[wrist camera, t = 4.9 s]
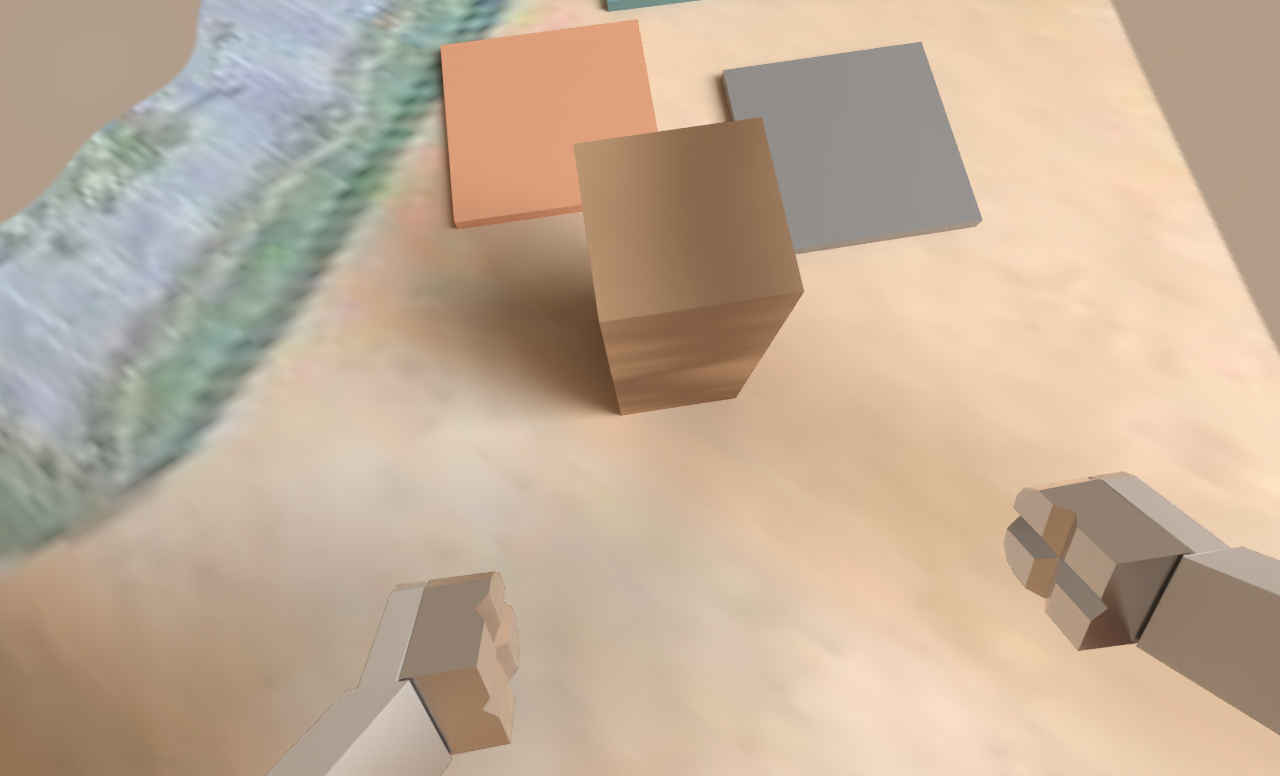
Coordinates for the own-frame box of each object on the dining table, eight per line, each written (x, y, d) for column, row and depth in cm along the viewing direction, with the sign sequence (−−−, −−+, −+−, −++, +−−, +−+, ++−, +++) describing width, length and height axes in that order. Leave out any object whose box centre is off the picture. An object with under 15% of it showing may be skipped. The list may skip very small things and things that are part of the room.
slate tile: (760, 265, 22) (766, 253, 21) (720, 89, 24) (723, 70, 23) (967, 234, 22) (982, 219, 21) (910, 61, 24) (921, 41, 23)
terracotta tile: (462, 236, 22) (454, 222, 21) (448, 65, 24) (440, 45, 23) (668, 207, 22) (668, 192, 21) (637, 40, 24) (637, 19, 23)
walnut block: (621, 415, 20) (598, 322, 11) (605, 307, 21) (573, 143, 12) (735, 397, 20) (803, 291, 11) (714, 291, 21) (762, 117, 12)
